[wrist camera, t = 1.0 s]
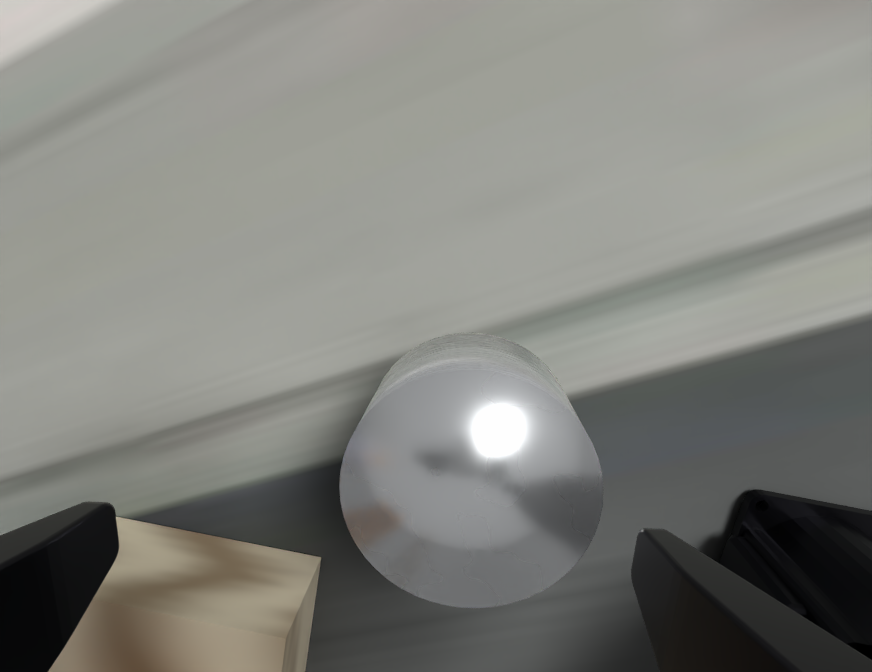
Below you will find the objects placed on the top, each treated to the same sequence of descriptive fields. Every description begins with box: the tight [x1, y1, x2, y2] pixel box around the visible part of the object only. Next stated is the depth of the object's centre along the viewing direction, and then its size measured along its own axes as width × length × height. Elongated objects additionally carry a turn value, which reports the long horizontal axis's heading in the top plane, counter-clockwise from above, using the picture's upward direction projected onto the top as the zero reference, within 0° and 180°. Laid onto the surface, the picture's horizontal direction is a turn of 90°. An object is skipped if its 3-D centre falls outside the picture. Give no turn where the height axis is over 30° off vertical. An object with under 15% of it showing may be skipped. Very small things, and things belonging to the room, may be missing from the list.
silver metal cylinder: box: [339, 333, 603, 608], centre depth 17 cm, size 7×7×8 cm
